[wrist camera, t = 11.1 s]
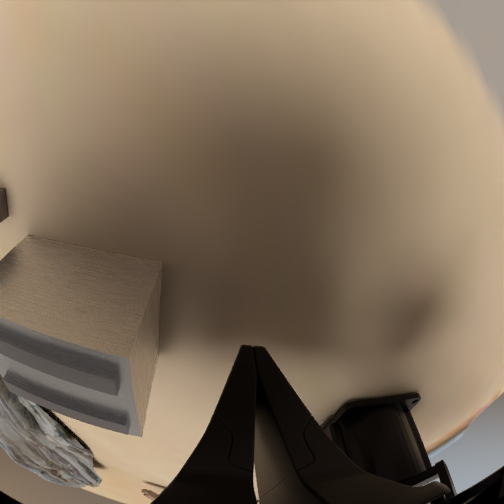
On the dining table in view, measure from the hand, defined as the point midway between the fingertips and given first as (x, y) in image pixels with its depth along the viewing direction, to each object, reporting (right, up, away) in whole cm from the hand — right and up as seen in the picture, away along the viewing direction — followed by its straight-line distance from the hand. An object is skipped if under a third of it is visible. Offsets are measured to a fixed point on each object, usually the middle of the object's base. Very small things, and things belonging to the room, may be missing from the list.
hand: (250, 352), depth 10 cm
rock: (-23, -13, +8) cm, 28 cm away
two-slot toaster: (-7, +2, +1) cm, 7 cm away
